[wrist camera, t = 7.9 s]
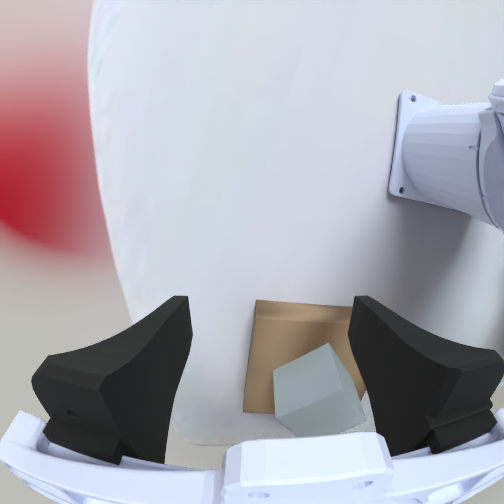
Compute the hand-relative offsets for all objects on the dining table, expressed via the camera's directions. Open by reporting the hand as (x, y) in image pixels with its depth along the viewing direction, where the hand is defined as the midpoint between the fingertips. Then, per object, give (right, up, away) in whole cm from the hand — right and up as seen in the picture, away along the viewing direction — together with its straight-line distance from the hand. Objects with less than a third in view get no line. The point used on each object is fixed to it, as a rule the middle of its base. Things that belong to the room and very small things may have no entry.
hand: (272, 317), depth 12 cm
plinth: (+4, -7, +12) cm, 15 cm away
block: (+4, -7, +10) cm, 13 cm away
